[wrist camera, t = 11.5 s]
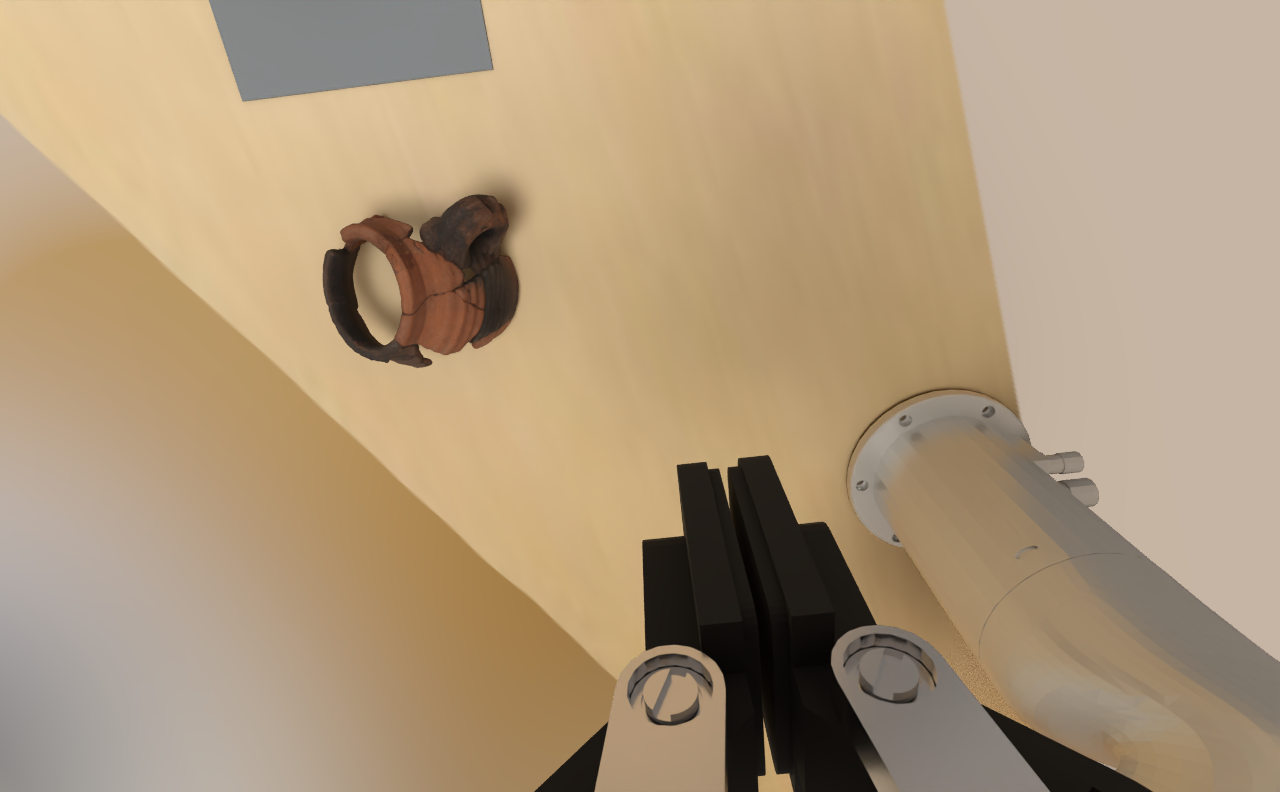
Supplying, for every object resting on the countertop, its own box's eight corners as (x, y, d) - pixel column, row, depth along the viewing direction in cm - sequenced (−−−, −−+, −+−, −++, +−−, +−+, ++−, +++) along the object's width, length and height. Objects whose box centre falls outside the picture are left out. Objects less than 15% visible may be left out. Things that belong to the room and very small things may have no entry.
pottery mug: (484, 377, 42) (382, 410, 35) (402, 274, 43) (288, 287, 36) (582, 246, 36) (481, 256, 29) (482, 130, 37) (363, 113, 30)
